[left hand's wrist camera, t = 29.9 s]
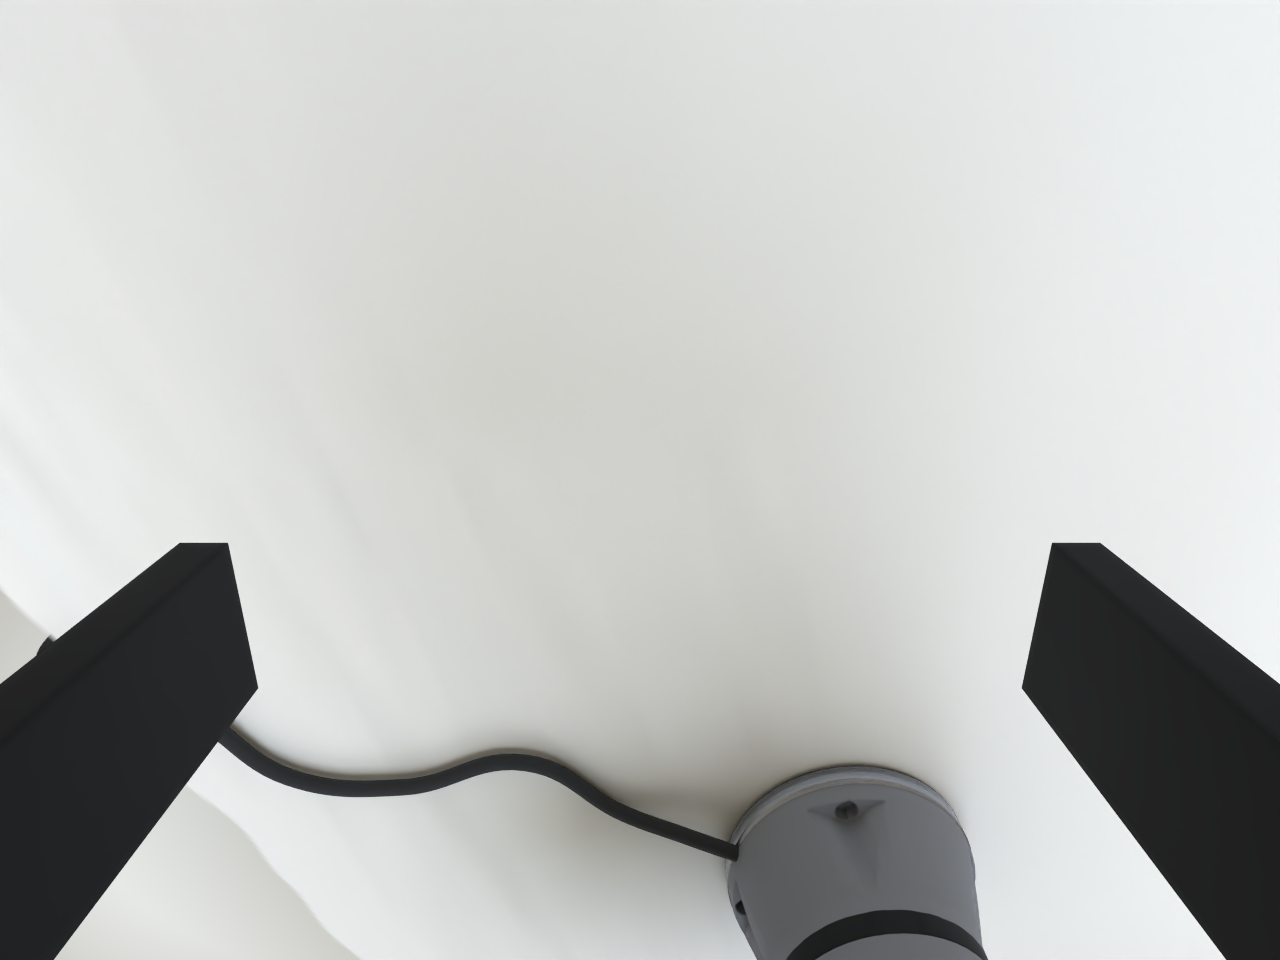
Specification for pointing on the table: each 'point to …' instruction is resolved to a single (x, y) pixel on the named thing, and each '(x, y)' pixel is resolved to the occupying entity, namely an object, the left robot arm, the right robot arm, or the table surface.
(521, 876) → the table surface
